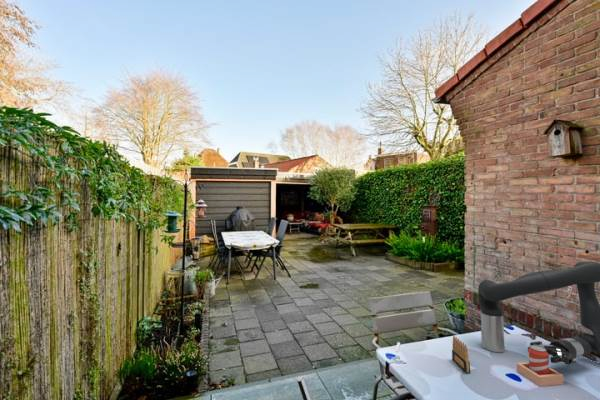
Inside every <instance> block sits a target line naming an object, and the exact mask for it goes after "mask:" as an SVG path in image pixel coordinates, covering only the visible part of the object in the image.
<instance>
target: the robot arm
mask: <svg viewBox="0 0 600 400" xmlns="http://www.w3.org/2000/svg"><path fill="white" fill-rule="evenodd" d="M596 283H600V263H599V262H597V261H579V262H577V263H575V264H574V266H573V267H569V268H564V269H563V268H562V269H547V270H540V271H538V270H537V271H534V272H530V273H527V274H526V273H525V274H524V275H521V276H519V277H518V278H515V279H513V280H512V281H507V282H499V283H497V282H495V281H493V280H491V279H484V280H482V281H481V282H479V284H478V289H477V290H478V291H477V292H478V295H477V296H478V303H479V307H480V317H481V319H480V321H481V327H480V333H481V335H480V336H481V348H483V349H485V350H487V351H490V352H493V353H494V352H495V353H504V352H505V349H506V348H505V347H506V346H505V330H504V328H505V327H504V312H503V311H504V310H503V307H502V305H501V303H500V302H502V301H506V300H508V299H511V298H512V299H513V298H515V297H519V296H520V297H521V296H526V295H532V294H539V293H544V292H549V291H554V290H558V289H562V288H565V287H566V288H567V287H570V286H573V285H574V286H575V285H576V287H577V288H576V289H577V293H578V298H579V299H578V300H579V311H580V324H581V326H582V327H583V328H585V329H588V330H590V331H591V332H592V334H591V333H586V332H578V333H576V334H575V335H573V336H572V337H568V338H561V339H555V340H552V341H551V342H550V343H549V344H543V342H542V341H541V340H540V341H531V342H529V346H527V352H528V353H529V350H528V349H529V348H530V346H531V345H537V346H541V347H543V348H545V349H546V352H547V353H548V355H549V357H550V358H549V363H552V364H558V363H562V364H563V363H564V364H565V365H567V366H570V365H572V364H576V363H577V359H578V358H580V357H582V356H586V355H589V354H591V352H594V353H596V354H600V302H599V300H598V298H597V294H596V289H595V288H596V287H595V286H596V285H595V284H596Z"/></svg>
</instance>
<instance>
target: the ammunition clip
mask: <svg viewBox="0 0 600 400" xmlns="http://www.w3.org/2000/svg"><path fill="white" fill-rule="evenodd" d="M468 352H469V350H468V345H467V344H465V343H464V342H463V341H462V340H460V338H457V336H455V335H453V337H452V349H451V354H452V355H451V361H452V360H453V361H454V362H455V363H456V364H457V366H458V367H459V369H461V371H463V373H465V374H471V366H470V365H471V363H470V360H469V353H468ZM453 361H452V362H453ZM454 362H453V363H454ZM456 364H455V365H456Z"/></svg>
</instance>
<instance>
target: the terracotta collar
mask: <svg viewBox="0 0 600 400" xmlns="http://www.w3.org/2000/svg"><path fill="white" fill-rule="evenodd" d="M549 371H550V374H547V375H538V374H537V373H535V372H533V371H532V370H530V368H529V361H526V362H524V361H523V362H516V372H517V373H519V374H520V375H522V376H524V377H525V378H526V379H527V380H530V381H531V382H533V383H534V384H536V385H537V386H539V387H547V386H557V385H559V386H560V385H564V381H565V380H564V374H562V373H560V372H558V370H555V369H553V368H552V367H550V366H549Z"/></svg>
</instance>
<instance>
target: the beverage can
mask: <svg viewBox="0 0 600 400" xmlns="http://www.w3.org/2000/svg"><path fill="white" fill-rule="evenodd" d="M529 347H530V348H529V349H528V348H527V351H528V350H529V352H528V362H529V368H530V370H532V371H533V372H535V373H537V374H538V375H547V374H550V371H549V367H550V358H549V357H550V355H549V354H548V353H547V352H546V349H545V348H543V347H541V346H537V345H531V346H530V345H529Z"/></svg>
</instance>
